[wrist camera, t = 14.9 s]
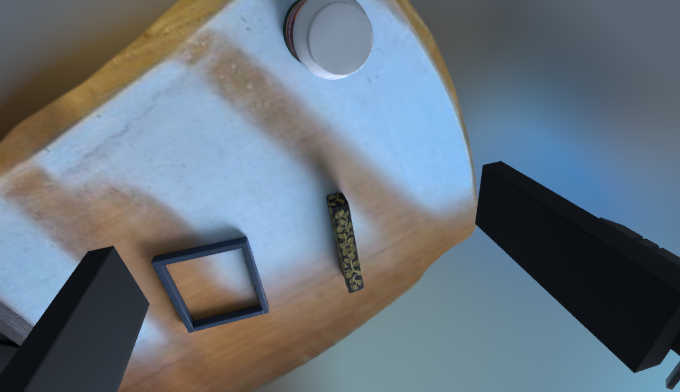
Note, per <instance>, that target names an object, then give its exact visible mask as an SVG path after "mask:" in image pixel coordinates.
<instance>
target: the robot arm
mask: <svg viewBox="0 0 680 392" xmlns="http://www.w3.org/2000/svg"><path fill="white" fill-rule="evenodd" d="M475 224H476V225H477V226H478V227H479V228H480V229H481V230H482V231H483V232H485V233H486V234H487V235H488V236H489V237H490V238H491V239H492V240H493V241H494V242H495V243H497V245H498V246H499V247H501V248H502V249H503V250H504V251H505V252H506V253H507V254H508V255H509V256H510V257H511V258H512V259H514V261H515V262H517V263H518V264H519V265H520V266H521V267H522V268H523V269H524V270H525V271H526V272H527V273H528V274H529V275H531V277H533V278H534V279H535V280H536V281H537V282H538V283H539V284H540V285H541V286H542V287H543V288H544V289H545V290H546V291H547V292H549V293H550V294H551V295H552V296H553V297H554V298H555V299H556V300H557V301H558V302H559V303H560V304H561V305H562V306H564V308H565V309H567V310H568V311H569V312H570V313H571V314H572V315H573V316H574V317H575V318H576V319H577V320H578V321H579V322H580V323H581V324H583V325H584V326H585V327H586V328H587V329H588V330H589V331H590V332H591V333H592V334H593V335H594V336H595V337H596V338H597V339H599V340H600V341H601V342H602V343H603V344H604V345H605V346H606V347H607V348H608V349H609V350H610V351H611V352H612V353H613V354H615V355H616V356H617V357H618V358H619V359H620V360H621V361H622V362H623V363H624V364H625V365H626V366H627V367H628V368H629V369H630V370H632V371H633V372H634V373H636V372H639V371H642V370H645V369H648V368H651V367H653V366H656V365H659V364H660V363H661V362H662V361H663V359H664V358H665V356H666V355H667V354H668V352H669V350H670V349H672V350H673V351H674V352H676V353H677V354H678V355H679V356H680V257H678V256H676V255H674V254H673V253H671V252H669V251H667V250H666V249H664V248H659V246H658V245H657V244H655V243H653V242H652V241H649V240H648V239H643V236H641V235H639V234H637V233H636V232H634V231H632V230H630V229H629V228H627V227H625V226H623V225H621V224H618V223H615V222H612V221H609V220H606V219H604V218H597V217H595V216H594V215H592V214H590V213H589V212H587V211H585V210H584V209H582V208H580V207H578V206H576V205H575V204H573V203H572V202H570V201H568V200H566V199H565V198H563V197H561V196H560V195H558V194H556V193H554V192H553V191H551V190H550V189H548V188H546V187H544V186H543V185H541V184H539V183H537V182H536V181H534V180H532V179H531V178H529V177H527V176H525V175H524V174H522V173H520V172H519V171H517V170H515V169H514V168H512V167H510V166H509V165H507V164H505V163H503V162H502V161H499V162H495V163H491V164H486V165H483V169H482V176H481V184H480V191H479V199H478V206H477V214H476V221H475ZM148 307H149V302H148V300H147V299H146V297H145V296H144V294H143V292H142V291H141V289H140V288H139V286H138V284H137V283H136V281H135V280H134V278H133V276H132V275H131V273H130V272H129V270H128V268H127V267H126V265H125V263H124V262H123V260H122V259H121V257H120V255H119V254H118V252H117V251H116V249H115V247H114V246H111V247H106V248H101V249H97V250H92V251H88V252H87V253H86V255H85V256H84V258H83V259H82V260H81V262H80V263H79V265H78V266H77V267H76V269H75V270H74V272H73V273H72V274H71V276H70V277H69V279H68V280H67V281H66V283H65V284H64V286H63V287H62V288H61V290H60V291H59V293H58V294H57V295H56V297H55V298H54V300H53V301H52V302H51V304H50V305H49V307H48V308H47V309H46V311H45V312H44V314H43V315H42V316H41V318H40V319H39V321H38V322H37V323H36V325H35V326H34V328H33V329H32V330H31V332H30V333H29V335H28V336H27V337H26V339H25V340H24V342H23V343H22V344H21V346H20V347H19V349H18V350H17V351H16V353H15V354H14V356H13V357H12V358H11V360H10V361H9V363H8V364H7V365H6V367H5V368H4V370H3V371H2V372H1V374H0V392H117V391H118V389H119V386H120V383H121V381H122V378H123V375H124V372H125V370H126V367H127V364H128V361H129V359H130V356H131V353H132V351H133V348H134V345H135V342H136V340H137V337H138V334H139V332H140V329H141V326H142V323H143V321H144V318H145V315H146V312H147V310H148ZM679 380H680V362H679V363H678V364H677V366H676V367H675V368H674V370H673V371H672V372H671V374H670V375H669V376H668V378H667V379H666V388H668V389H671V390H672V389H673V388H674V387H675V385H676V384H677V383H678V382H679Z"/></svg>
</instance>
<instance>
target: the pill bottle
mask: <svg viewBox="0 0 680 392" xmlns="http://www.w3.org/2000/svg"><path fill="white" fill-rule="evenodd" d="M286 36H287V41H288V44H289V47H290V49H291V51H292V52H293V54H294V55H295V56H296V58H297V59H298V60H299V61H300V62H301V63H302V64H303V65H304V66H305V68H306V69H308V70H309V71H310V72H311V73H313V74H314V75H316V76H318V77H321V78H324V79H340V78H344V77H346V76H348V75H350V74H353V73H355V72H356V71H358V70H359V69H360V68H362V67H363V66H364V64H365V63H366V62H367V60H368V58H369V56H370V54H371V51H372V48H373V30H372V26H371V23H370V21H369V19H368V17H367V15H366V13H365V11H364V10H363V8H362V7H361V5H360V4H359V3H358V2H357V1H356V0H301V1H300V2H299V3H297V4H296V5H295V7H294V8H293V9H292V11H291V13H290V15H289V17H288V20H287V24H286Z"/></svg>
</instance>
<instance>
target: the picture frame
mask: <svg viewBox="0 0 680 392" xmlns="http://www.w3.org/2000/svg"><path fill="white" fill-rule="evenodd" d="M32 329H33V327H32V326H30V325H29V324H28V323H27V322H25V321H24V320H23V319H21V318H20V317H19V316H18V315H16V314H15V313H14V312H12V311H11V310H10V309H8V308H7V307H6V306H5V305H3V304H2V303H1V302H0V374H1V372H2V371H3V370H4V368H5V367H6V365H7V364H8V363H9V361H10V360H11V358H12V357H13V356H14V354H15V353H16V351H17V350H18V349H19V347H20V346H21V344H22V343H23V342H24V340H25V339H26V337H27V336H28V335H29V333H30V332H31V330H32Z"/></svg>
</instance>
